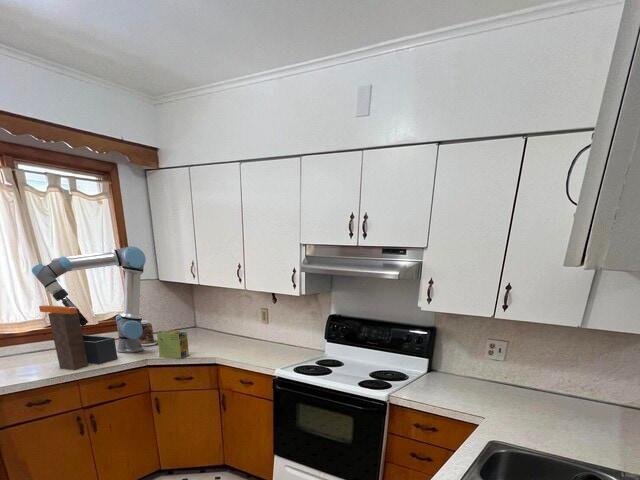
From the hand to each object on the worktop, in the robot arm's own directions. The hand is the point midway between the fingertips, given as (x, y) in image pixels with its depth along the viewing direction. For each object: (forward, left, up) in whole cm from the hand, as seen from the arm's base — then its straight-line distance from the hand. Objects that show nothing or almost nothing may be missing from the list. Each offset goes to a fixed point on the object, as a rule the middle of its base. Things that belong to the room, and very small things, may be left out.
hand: (85, 324), depth 248 cm
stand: (+13, +10, -21) cm, 27 cm away
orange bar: (+14, +7, +9) cm, 18 cm away
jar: (-49, -36, -22) cm, 64 cm away
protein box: (-44, +18, -22) cm, 52 cm away
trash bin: (-1, -2, -21) cm, 21 cm away
